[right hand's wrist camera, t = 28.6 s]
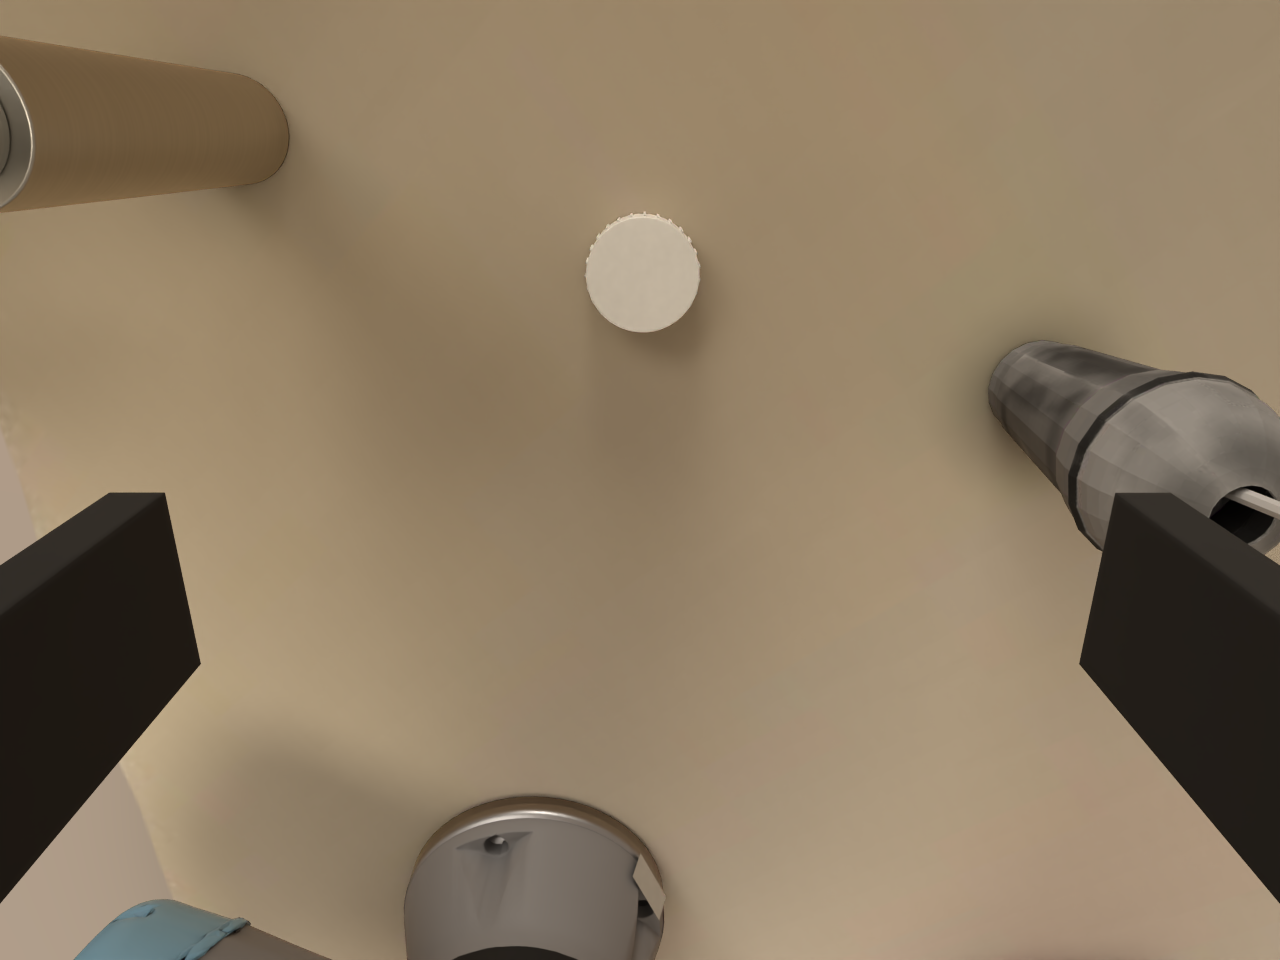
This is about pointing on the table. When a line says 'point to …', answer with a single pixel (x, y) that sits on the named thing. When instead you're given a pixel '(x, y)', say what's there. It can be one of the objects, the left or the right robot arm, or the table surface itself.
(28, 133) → the tan tube
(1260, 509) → the beverage cup
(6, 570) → the right robot arm
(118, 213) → the table surface
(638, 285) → the lid
